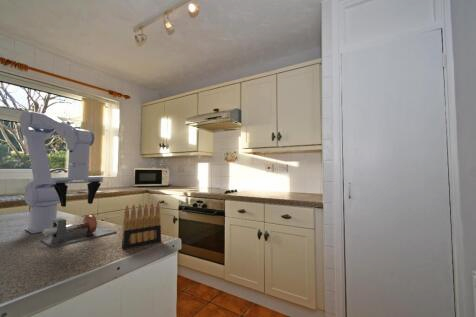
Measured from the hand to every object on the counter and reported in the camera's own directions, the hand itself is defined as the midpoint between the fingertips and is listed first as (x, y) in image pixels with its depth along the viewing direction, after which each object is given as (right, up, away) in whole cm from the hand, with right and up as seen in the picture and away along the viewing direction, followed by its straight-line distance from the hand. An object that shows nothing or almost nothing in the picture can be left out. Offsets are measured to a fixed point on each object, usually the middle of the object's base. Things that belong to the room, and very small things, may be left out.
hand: (77, 204), depth 75 cm
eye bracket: (+3, -10, -2) cm, 11 cm away
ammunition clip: (+26, -10, -9) cm, 29 cm away
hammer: (+1, -9, -4) cm, 10 cm away
